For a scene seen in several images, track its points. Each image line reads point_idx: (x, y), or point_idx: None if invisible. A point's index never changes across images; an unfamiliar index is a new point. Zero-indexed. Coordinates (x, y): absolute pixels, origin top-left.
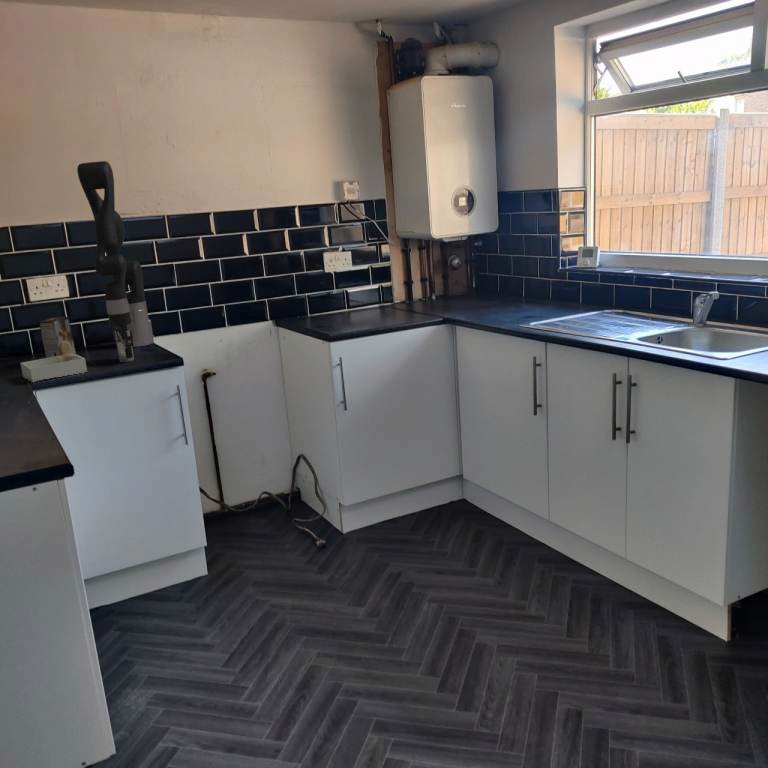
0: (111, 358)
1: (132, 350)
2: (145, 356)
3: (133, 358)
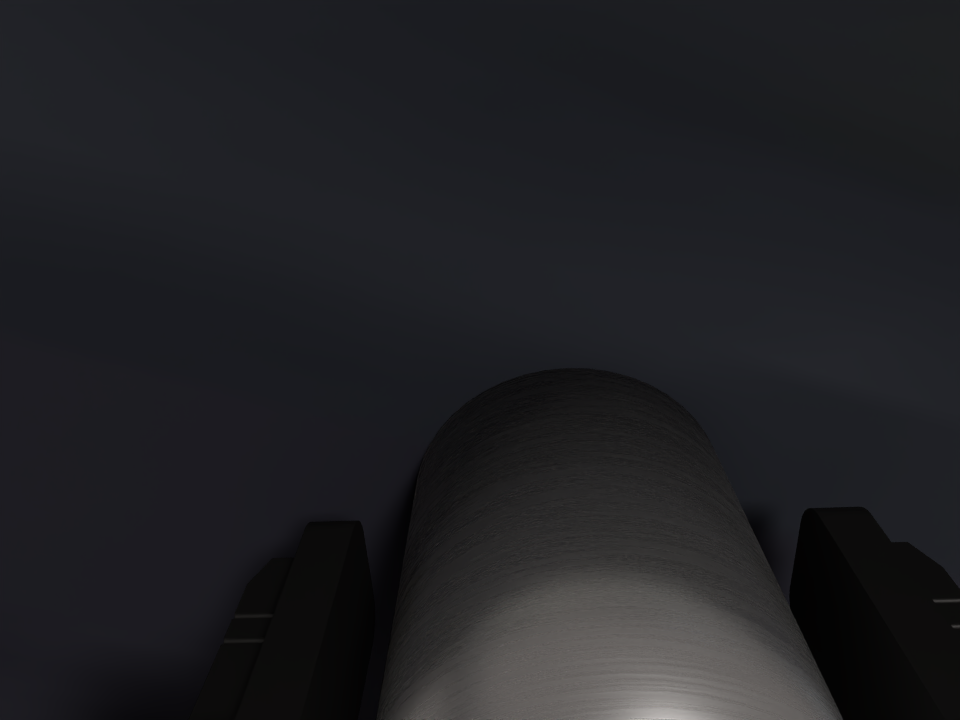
0: (108, 640)
1: (704, 530)
2: (559, 44)
3: (676, 413)
